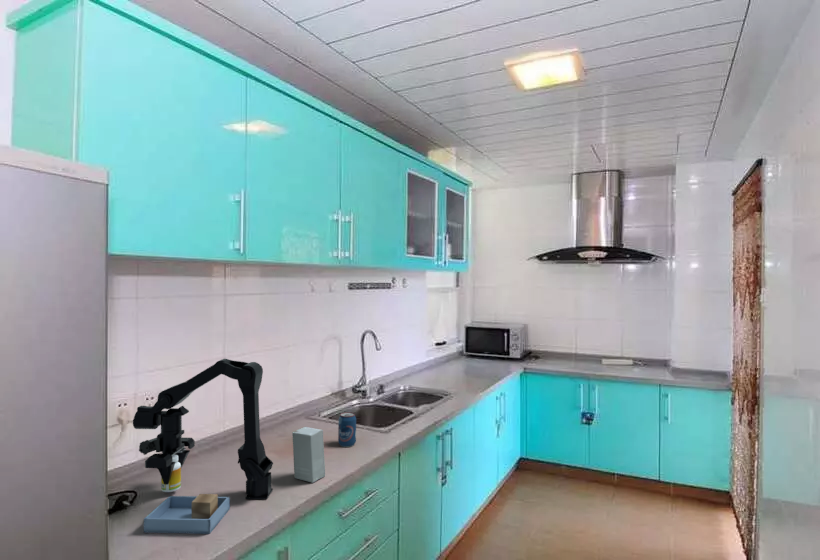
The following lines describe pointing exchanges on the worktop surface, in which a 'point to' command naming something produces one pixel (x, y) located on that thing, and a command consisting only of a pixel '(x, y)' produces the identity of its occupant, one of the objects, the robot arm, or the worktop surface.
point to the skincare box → (308, 454)
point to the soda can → (347, 429)
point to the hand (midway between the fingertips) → (171, 480)
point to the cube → (204, 506)
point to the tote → (183, 516)
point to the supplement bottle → (173, 477)
